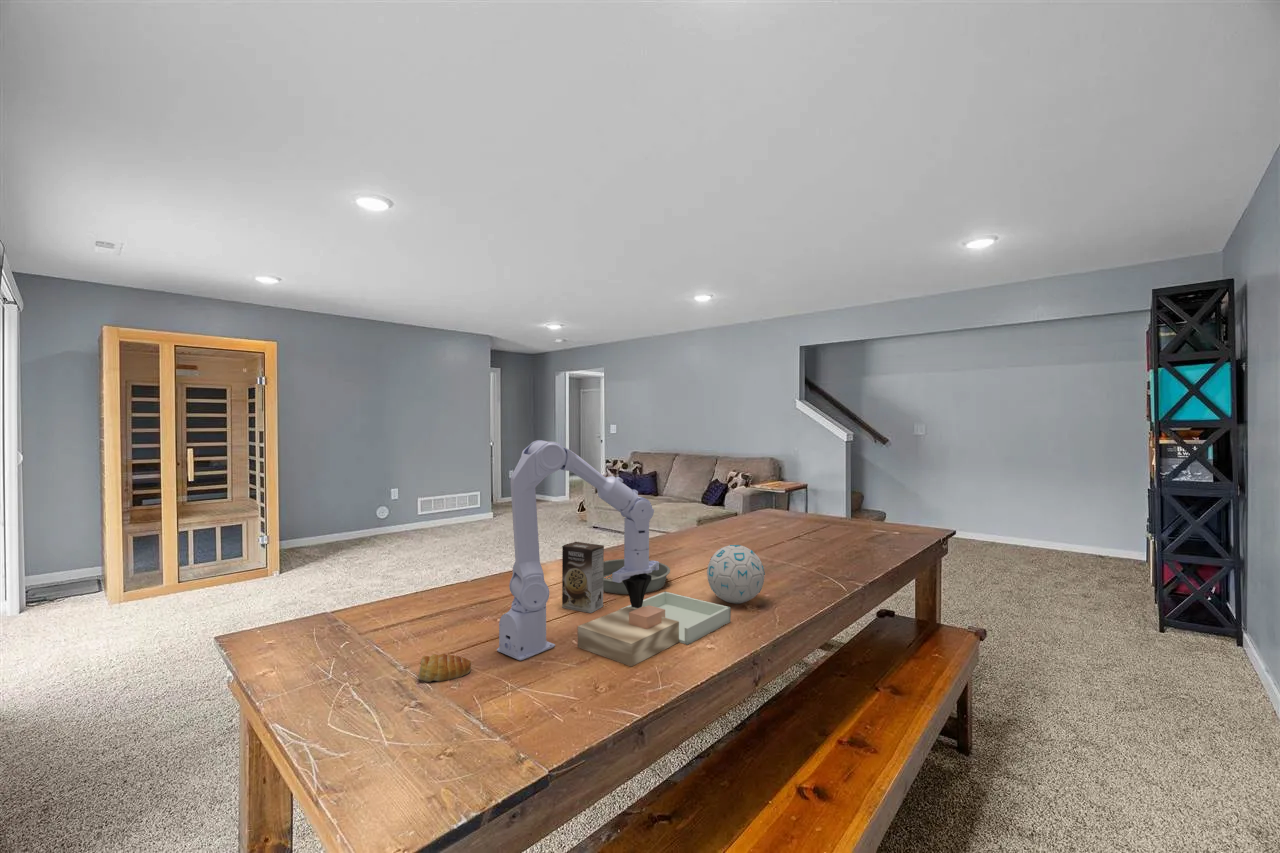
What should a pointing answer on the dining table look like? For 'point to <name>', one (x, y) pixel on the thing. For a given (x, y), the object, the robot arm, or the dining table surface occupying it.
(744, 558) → the puzzle ball
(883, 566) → the dining table surface
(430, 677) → the pastry
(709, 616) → the tray
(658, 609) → the tile far
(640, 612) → the tile near
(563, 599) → the coffee box
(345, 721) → the dining table surface
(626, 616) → the block
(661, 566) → the cake pan
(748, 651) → the dining table surface
